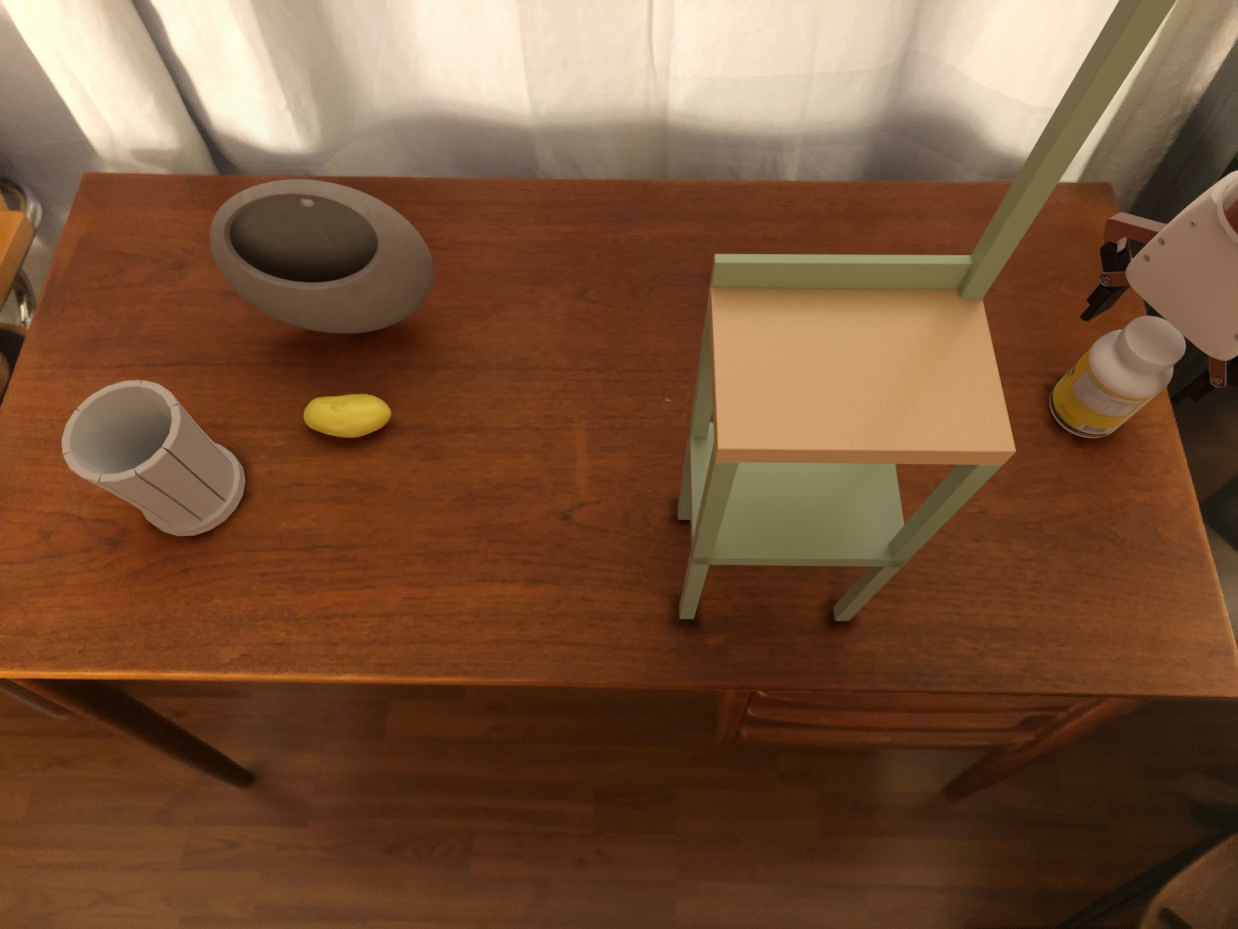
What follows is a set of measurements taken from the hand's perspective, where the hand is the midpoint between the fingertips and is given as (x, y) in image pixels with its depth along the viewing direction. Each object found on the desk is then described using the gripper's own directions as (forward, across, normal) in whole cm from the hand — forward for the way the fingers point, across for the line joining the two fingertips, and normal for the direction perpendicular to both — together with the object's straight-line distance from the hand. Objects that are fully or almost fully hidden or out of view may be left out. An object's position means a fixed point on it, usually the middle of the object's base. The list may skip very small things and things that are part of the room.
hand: (1137, 353), depth 66 cm
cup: (+9, +37, +73) cm, 82 cm away
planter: (+9, +45, +53) cm, 70 cm away
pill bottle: (+9, 0, 0) cm, 9 cm away
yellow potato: (+9, +35, +58) cm, 68 cm away
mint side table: (+9, +4, +34) cm, 36 cm away
